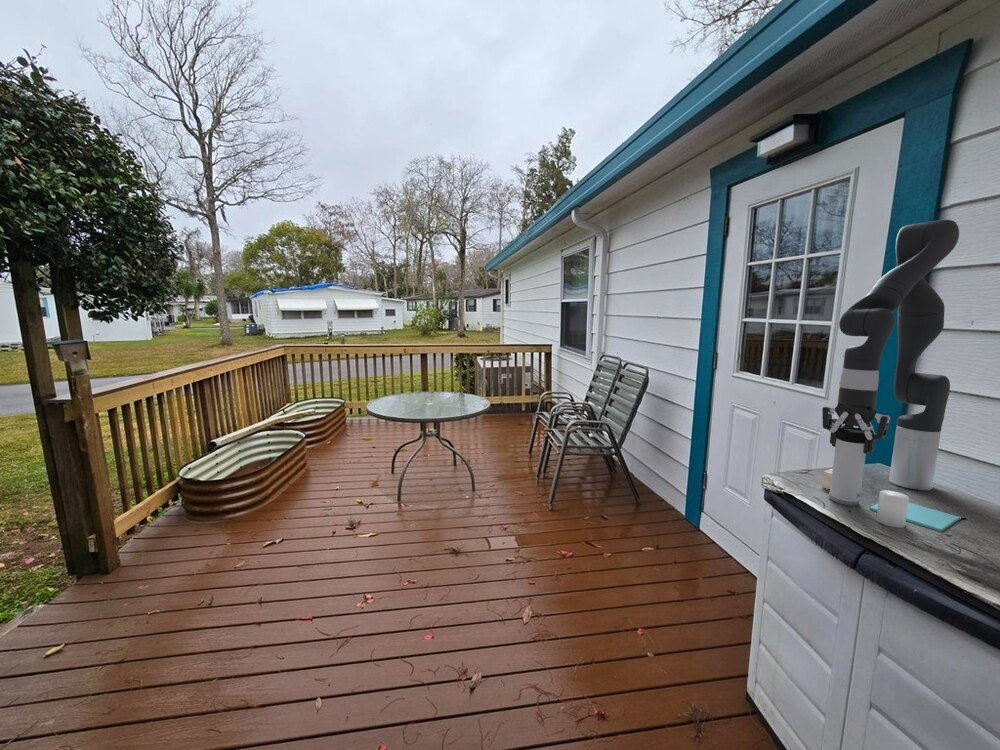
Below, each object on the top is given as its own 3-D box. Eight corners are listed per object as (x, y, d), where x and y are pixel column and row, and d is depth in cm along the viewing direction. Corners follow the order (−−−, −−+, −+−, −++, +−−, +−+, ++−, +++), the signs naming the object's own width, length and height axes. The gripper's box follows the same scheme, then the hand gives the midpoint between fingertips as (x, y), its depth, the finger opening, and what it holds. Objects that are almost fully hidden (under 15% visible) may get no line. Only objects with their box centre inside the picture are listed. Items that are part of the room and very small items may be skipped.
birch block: (830, 485, 123) (831, 468, 123) (850, 491, 119) (852, 474, 119) (821, 488, 121) (823, 471, 120) (842, 494, 117) (844, 477, 116)
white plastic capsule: (881, 516, 103) (884, 488, 102) (908, 524, 99) (912, 496, 98) (872, 520, 101) (876, 492, 100) (900, 529, 96) (904, 500, 96)
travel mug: (866, 507, 108) (876, 431, 106) (837, 504, 109) (846, 430, 107) (851, 497, 114) (860, 425, 112) (823, 495, 115) (832, 424, 113)
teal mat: (890, 499, 113) (890, 497, 113) (959, 519, 102) (959, 517, 102) (869, 509, 107) (869, 507, 107) (941, 531, 96) (941, 529, 96)
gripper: (900, 390, 104) (891, 455, 106) (832, 382, 116) (825, 441, 118) (888, 391, 100) (879, 459, 102) (819, 383, 112) (812, 444, 114)
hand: (850, 449), depth 110 cm, fingers closed on travel mug, 6 cm apart
